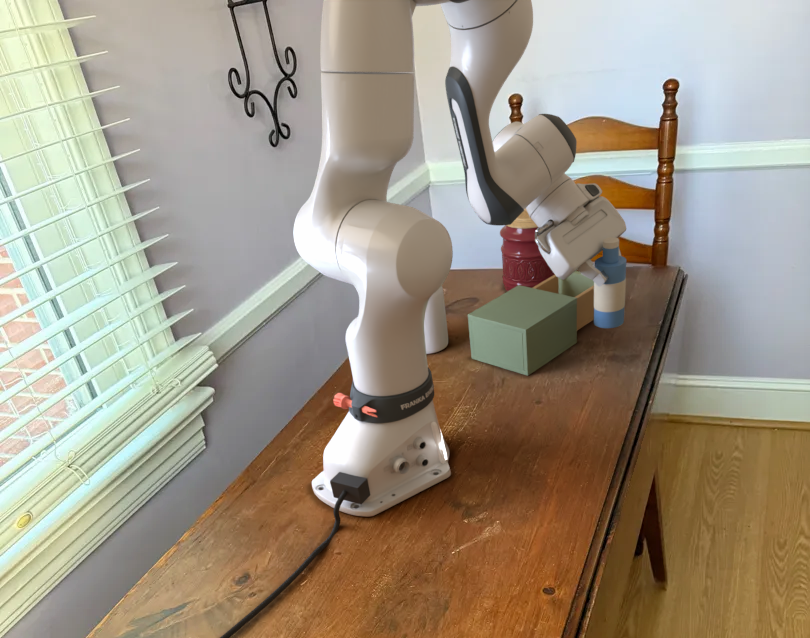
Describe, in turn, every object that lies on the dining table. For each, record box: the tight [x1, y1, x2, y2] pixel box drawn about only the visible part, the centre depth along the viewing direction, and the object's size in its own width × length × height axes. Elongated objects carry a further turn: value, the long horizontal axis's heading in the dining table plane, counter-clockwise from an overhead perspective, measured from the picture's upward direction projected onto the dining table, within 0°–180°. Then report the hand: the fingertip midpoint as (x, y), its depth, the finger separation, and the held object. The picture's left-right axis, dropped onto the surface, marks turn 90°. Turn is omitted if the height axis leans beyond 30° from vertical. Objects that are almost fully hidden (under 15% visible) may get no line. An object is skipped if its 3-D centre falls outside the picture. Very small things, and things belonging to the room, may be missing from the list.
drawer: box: [533, 270, 594, 331], centre depth 151 cm, size 18×12×7 cm
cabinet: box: [467, 285, 578, 377], centre depth 143 cm, size 15×13×9 cm
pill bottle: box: [424, 285, 449, 355], centre depth 148 cm, size 8×8×15 cm
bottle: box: [593, 237, 627, 329], centre depth 135 cm, size 5×5×14 cm
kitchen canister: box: [499, 208, 555, 292], centre depth 164 cm, size 13×13×18 cm
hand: (613, 275), depth 134 cm, fingers closed on bottle, 5 cm apart
